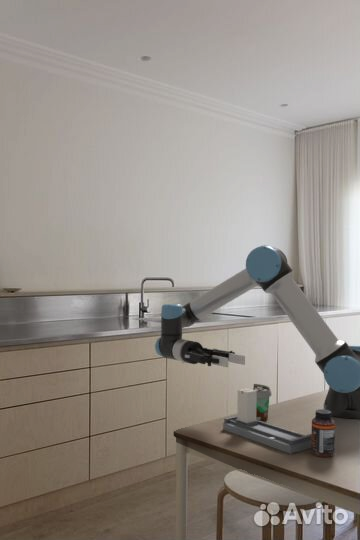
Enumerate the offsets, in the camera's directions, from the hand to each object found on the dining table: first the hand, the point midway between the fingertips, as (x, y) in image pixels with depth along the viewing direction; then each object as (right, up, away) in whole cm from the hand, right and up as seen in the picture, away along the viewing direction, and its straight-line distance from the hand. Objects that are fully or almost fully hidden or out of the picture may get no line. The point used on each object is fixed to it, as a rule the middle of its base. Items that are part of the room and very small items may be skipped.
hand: (235, 361), depth 162 cm
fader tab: (+3, -18, -4) cm, 19 cm away
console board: (+8, -20, -10) cm, 24 cm away
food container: (+9, -20, +9) cm, 24 cm away
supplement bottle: (+20, -21, -23) cm, 37 cm away
